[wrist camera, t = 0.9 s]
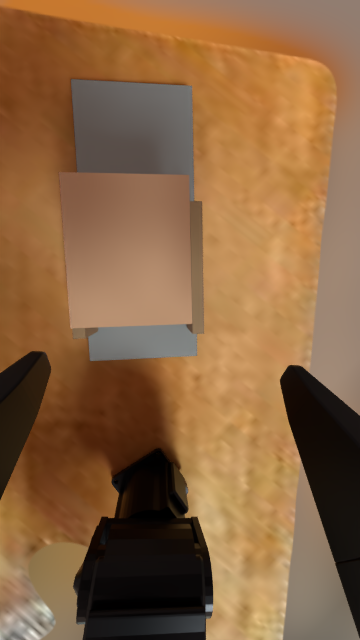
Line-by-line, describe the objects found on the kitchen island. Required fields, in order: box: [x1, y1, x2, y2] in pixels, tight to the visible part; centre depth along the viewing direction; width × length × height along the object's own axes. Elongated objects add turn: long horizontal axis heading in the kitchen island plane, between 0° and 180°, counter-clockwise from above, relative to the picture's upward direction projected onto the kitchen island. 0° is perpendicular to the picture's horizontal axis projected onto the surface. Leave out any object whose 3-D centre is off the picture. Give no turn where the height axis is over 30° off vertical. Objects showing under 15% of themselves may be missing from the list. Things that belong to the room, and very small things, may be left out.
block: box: [59, 172, 192, 328], centre depth 18 cm, size 9×8×9 cm
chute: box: [71, 79, 204, 361], centre depth 21 cm, size 26×11×5 cm, turn 1°
